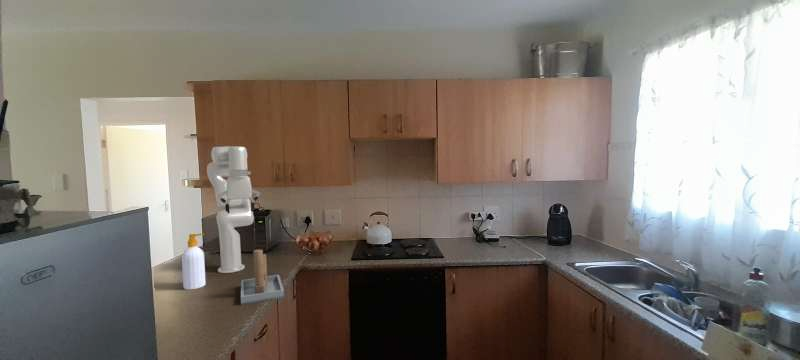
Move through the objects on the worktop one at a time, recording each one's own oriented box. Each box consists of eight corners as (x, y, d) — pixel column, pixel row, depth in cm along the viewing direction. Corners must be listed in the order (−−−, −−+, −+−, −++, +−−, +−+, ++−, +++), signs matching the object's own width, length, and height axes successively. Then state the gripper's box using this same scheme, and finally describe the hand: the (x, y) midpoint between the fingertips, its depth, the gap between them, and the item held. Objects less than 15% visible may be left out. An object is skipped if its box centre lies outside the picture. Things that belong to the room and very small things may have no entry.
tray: (241, 286, 154) (241, 280, 154) (279, 281, 161) (279, 274, 161) (241, 304, 134) (240, 297, 134) (284, 297, 141) (283, 290, 141)
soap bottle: (203, 288, 153) (200, 235, 152) (180, 290, 152) (177, 237, 150) (210, 282, 162) (207, 231, 161) (188, 284, 160) (185, 233, 159)
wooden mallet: (267, 285, 154) (265, 245, 153) (264, 294, 143) (262, 251, 142) (258, 286, 153) (256, 245, 152) (254, 295, 142) (252, 251, 141)
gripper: (259, 173, 162) (260, 209, 163) (217, 174, 155) (219, 212, 156) (259, 173, 155) (261, 211, 156) (216, 175, 148) (218, 214, 149)
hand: (240, 212), depth 156 cm, fingers open, 9 cm apart
